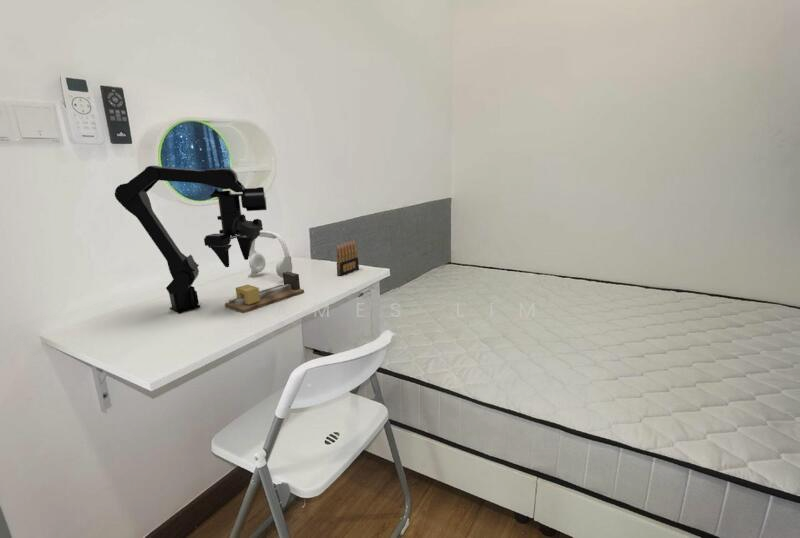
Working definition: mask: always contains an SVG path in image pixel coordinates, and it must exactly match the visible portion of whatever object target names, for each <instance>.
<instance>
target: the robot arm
mask: <svg viewBox="0 0 800 538" xmlns="http://www.w3.org/2000/svg"><path fill="white" fill-rule="evenodd" d="M160 181H164V182H178V183H191V184H192V183H194V184H196V183H197V184H203V185H206V186H210V187H213V188H215V189H214V190H213V192H212V193H211V194H210V195H209V196H210V198H217V200H218V208H219V214H220V215H218V216H217V221H220V222H221V228H222V229H219V231H218V232H219V233H211V234H208V235H205V237H204V238H203V242H204V246H207V247H208V248H209V249H211V250H212V251H213V252H214V253H215V255H216V256H217V257H218V259H219V260H220V261H221V263H222V264H223V266H224V267H225V268H230V255H229V251H230V249H231V247H232V244H231V241H232V240H233V239H237V243H238V246H239V248H240V251H241V255H242V257H243V259H244V261H246V260H247V261H249V259H250V258H249V253H250V249H251V245H252V242H253V241H254V240H255V241H256V239H258V237H260V236H259V235H260V231H264V230H263V229H264V227H263V223H262V222H263V221H262V219H259V218H255V219H253V220H247V219H246V215H245V214H243V213H242V210H241V207H242V209H243V208H244V209H246V210H245V211H247V212H254V211H256V212H257V211H258V212H259V211H267V210H268V209H267V207H268V206H267V197H266V193H265V187H263V186H258V187H249V188H248V187H247V188H246V187H245V186H244V184H243V183H242V182H241V181H239V177H238V174H237V173H236V171H235V170H233V168H228V167H224V168H223V167H222V168H221V167H220V168H212V169H211V168H210V169H194V168H193V169H192V168H180V167H178V168H177V167H169V166H168V167H167V166H158V165H148V166H146V167H145V168H144V170H142V172H139V174H137V175H136V176H135V177H133V178H131V179H130V180H129V181H127V183H122V184H119V185H117V186H116V188H115V190H114V197H115V199H116V200H117V202H118V203H119V204H120V205H121V206H122V207H123V208H124V209H125V210H127V211H128V212H129V213H130V214H132V215H133V216H134V217H136V218H137V220H138V221H139V223H140V224H141V226H142V227H143V228H144V230H145V231H146V233H147V235H148V236H149V237H150V239H151V240H152V242H153V243H154V244H155V246H156V247H157V248H158V250H159V252H160V253H161V255H162V256H163V258H164V259H165V260H166V262H167V267H168V271H169V273H170V275H171V277H172V280H171V282H169V284H168V285H167V286H166V287H165V289H166V290H167V292H168V294H169V301H170V304H171V305H170V306H171V307H169V310H170V311H173V312H175V313H177V314H182V313H185V312H189V311H191V310H195V309H198V308H200V307H201V305H200V304H199V303H200V302H199V301H200V300H199V297H198V291H197V290H196V289H195V287H194V286H193V285H194V282H195V280H197V278H198V276H199V274H200V273H199V272H200V270H199V266H200V264H198V263H196V261H195V259H194V257H193V255H192V254H190V255H188V256H186V255H185V254H184V253H182V251H180V249H179V247H178V246H177V244H176V242H174V240H173V238H172V236H171V235H170V234H169V233H168V231H167V229H166V228H165V226H164V225H163V224H162V222H161V221H160V219H159V218H158V216H157V215H156V213H155V212H154V210H153V208H152V203H151V201H150V197H149V194H148V193H147V192H149V191H150V190H151V189H152V188H153V187H154V186H155V184H157V182H160ZM219 189H221V190H219ZM228 189H229V190H228ZM232 191H233V192H234V193H232ZM240 200H241V201H240Z"/></svg>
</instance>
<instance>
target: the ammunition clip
mask: <svg viewBox="0 0 800 538" xmlns="http://www.w3.org/2000/svg"><path fill="white" fill-rule="evenodd" d="M336 248H337V249H336V254H337V255H336V260H337V261H336V276H337V277H344V276H346V275H348V274H351V273H353V272H357V271H359V270H360V266H359V257H358V252H357V251H358V250H357V243H356V241H355V239H353V240H350V241H347V242H346V241H344V243H340V244H339V243H338V244H337V247H336Z"/></svg>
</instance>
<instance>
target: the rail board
mask: <svg viewBox="0 0 800 538" xmlns="http://www.w3.org/2000/svg"><path fill="white" fill-rule="evenodd" d="M282 280H283V284H279V285H276V286H273V287H269V288H266V289H263V290H259V296H260V301H258V302H255V303H252V304H249V305H248V304H245V299H244V297H243V298H240V299H237V297H236V298H233V299H230V300H228V302H225V303H224V306H225V307H226V308H227V309H228V308H229V309H231V310H233V311H236V312H239V313H241V314H246V313H248V312H251V311H254V310H258V309H260V308H264V307H265V306H270V305H272V304H275V303H278V302H281V301H283V300H288V299H289V298H293V297H295V296H299V295H302V294H305V290H304V289H303V288H301V286H300V284H301V283H300V275H299V273H297V272H296V273H295V272H292V273H291V272H284V273H283V278H282Z"/></svg>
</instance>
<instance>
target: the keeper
mask: <svg viewBox="0 0 800 538" xmlns="http://www.w3.org/2000/svg"><path fill="white" fill-rule="evenodd" d="M259 291H260V289H259V287H257V286H253V285H250V284H248V283H247V284H243V285H241V286H237V287H235V293H236V298H237V299H240V298H243V297H244V299H245V304H248V305H249V304H252V303H255V302H258V301H260V296H259Z"/></svg>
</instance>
